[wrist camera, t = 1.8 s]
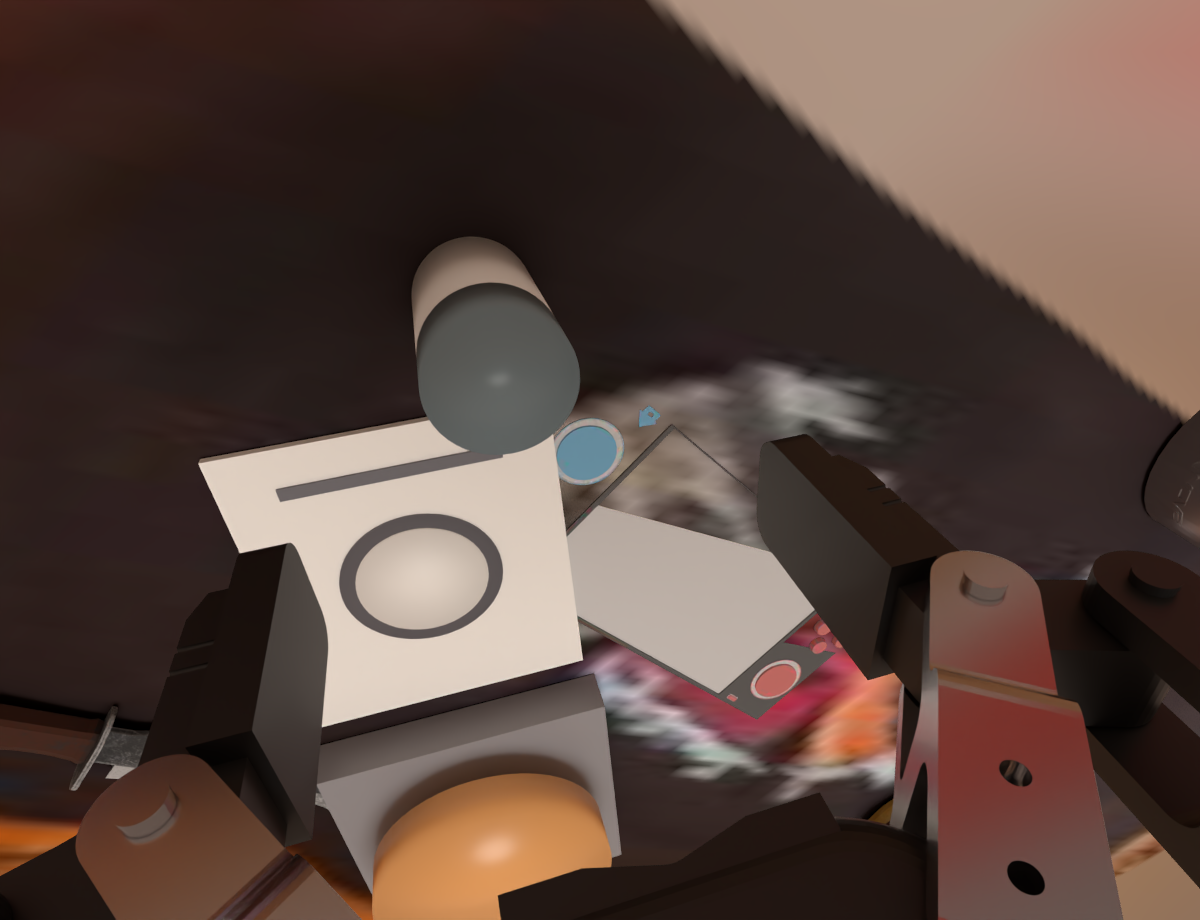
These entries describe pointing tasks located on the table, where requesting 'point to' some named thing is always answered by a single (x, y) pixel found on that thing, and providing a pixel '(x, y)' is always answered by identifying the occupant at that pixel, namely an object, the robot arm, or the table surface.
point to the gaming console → (682, 587)
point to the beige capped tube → (489, 350)
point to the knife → (77, 740)
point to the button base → (467, 759)
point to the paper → (413, 557)
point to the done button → (485, 846)
